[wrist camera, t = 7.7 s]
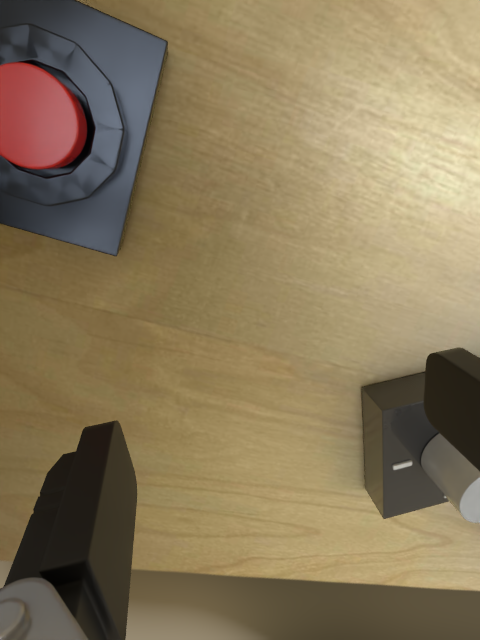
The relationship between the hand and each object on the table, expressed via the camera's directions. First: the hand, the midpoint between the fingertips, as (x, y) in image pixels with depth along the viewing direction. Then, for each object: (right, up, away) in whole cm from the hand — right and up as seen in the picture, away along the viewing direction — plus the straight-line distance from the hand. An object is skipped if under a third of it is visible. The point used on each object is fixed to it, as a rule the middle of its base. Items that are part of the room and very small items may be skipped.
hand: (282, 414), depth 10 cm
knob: (+14, -7, +18) cm, 23 cm away
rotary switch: (+14, -6, +20) cm, 26 cm away
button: (-9, +11, +6) cm, 15 cm away
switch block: (-10, +12, +9) cm, 18 cm away
